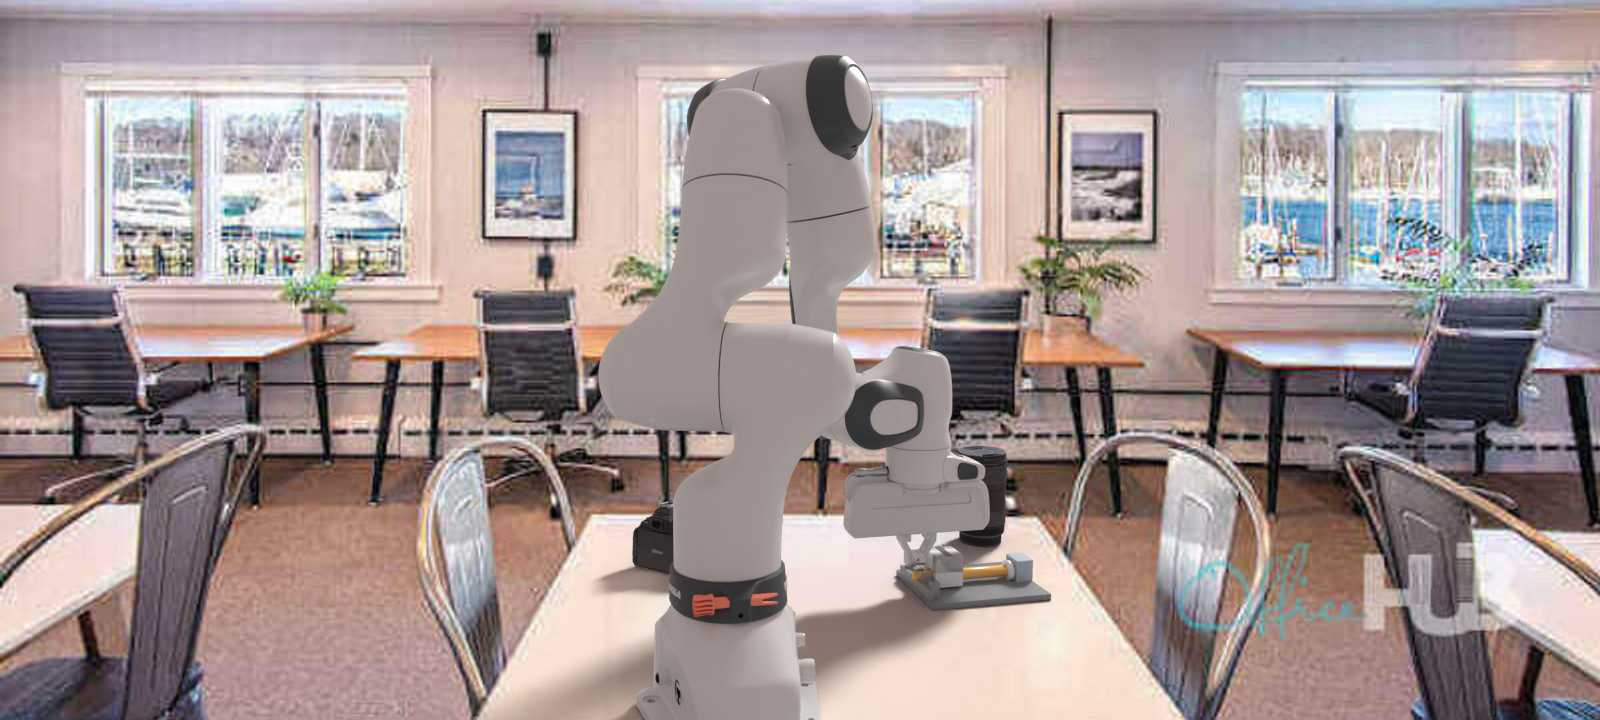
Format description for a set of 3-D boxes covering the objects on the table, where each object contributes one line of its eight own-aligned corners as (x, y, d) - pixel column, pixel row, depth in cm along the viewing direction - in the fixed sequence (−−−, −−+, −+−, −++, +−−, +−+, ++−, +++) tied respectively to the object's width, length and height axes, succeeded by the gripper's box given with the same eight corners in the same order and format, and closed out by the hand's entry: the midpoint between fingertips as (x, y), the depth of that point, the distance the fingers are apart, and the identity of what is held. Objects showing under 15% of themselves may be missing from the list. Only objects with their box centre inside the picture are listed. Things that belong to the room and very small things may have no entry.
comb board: (1050, 599, 126) (1052, 572, 126) (932, 610, 122) (933, 581, 122) (1004, 566, 140) (1005, 541, 140) (896, 575, 136) (896, 549, 136)
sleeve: (962, 585, 128) (963, 554, 128) (935, 588, 127) (936, 556, 127) (950, 575, 133) (950, 545, 132) (923, 577, 132) (924, 547, 131)
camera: (729, 560, 142) (729, 496, 141) (715, 582, 132) (714, 513, 131) (643, 556, 144) (643, 492, 143) (623, 578, 134) (622, 510, 133)
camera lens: (944, 536, 155) (947, 447, 153) (985, 531, 158) (987, 443, 157) (973, 550, 148) (976, 457, 146) (1015, 544, 151) (1018, 452, 149)
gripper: (851, 474, 122) (850, 577, 124) (996, 466, 127) (993, 565, 128) (837, 463, 128) (836, 562, 130) (976, 456, 133) (973, 551, 135)
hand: (915, 564), depth 129 cm, fingers closed
